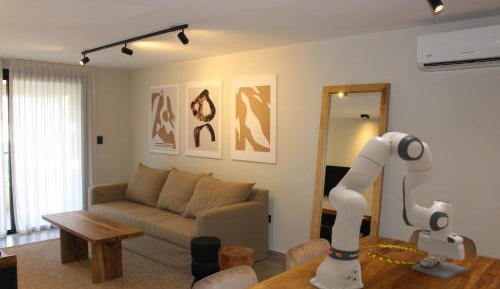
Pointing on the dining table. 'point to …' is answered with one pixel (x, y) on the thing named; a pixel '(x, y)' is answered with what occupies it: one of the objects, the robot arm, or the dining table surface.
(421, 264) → the link
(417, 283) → the dining table surface
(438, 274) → the pintle board
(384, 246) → the decorative wreath
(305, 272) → the dining table surface
